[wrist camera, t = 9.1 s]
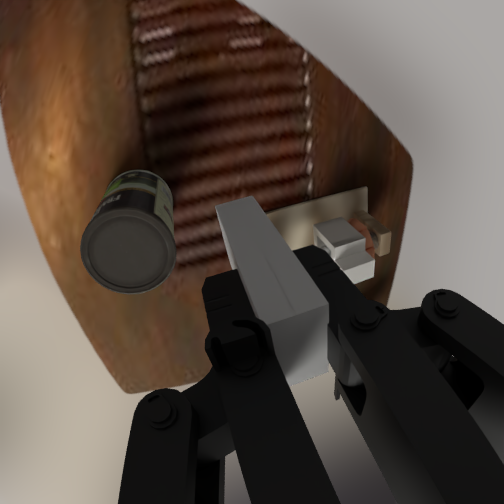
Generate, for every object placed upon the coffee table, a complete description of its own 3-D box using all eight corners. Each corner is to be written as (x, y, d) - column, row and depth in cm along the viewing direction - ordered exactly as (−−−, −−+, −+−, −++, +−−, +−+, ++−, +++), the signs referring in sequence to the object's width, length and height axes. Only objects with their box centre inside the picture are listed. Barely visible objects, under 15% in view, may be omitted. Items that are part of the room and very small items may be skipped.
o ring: (340, 254, 51) (365, 282, 44) (339, 212, 47) (367, 236, 40) (349, 251, 51) (374, 278, 44) (349, 209, 47) (377, 233, 40)
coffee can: (90, 210, 39) (64, 262, 27) (132, 154, 37) (115, 186, 25) (144, 248, 44) (139, 309, 33) (188, 198, 42) (197, 247, 31)
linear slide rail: (255, 280, 53) (270, 314, 45) (241, 219, 46) (257, 248, 39) (365, 244, 55) (391, 270, 48) (365, 186, 49) (397, 206, 41)
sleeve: (315, 262, 50) (343, 298, 42) (312, 224, 46) (343, 258, 38) (342, 253, 50) (372, 287, 42) (341, 216, 46) (375, 247, 38)
